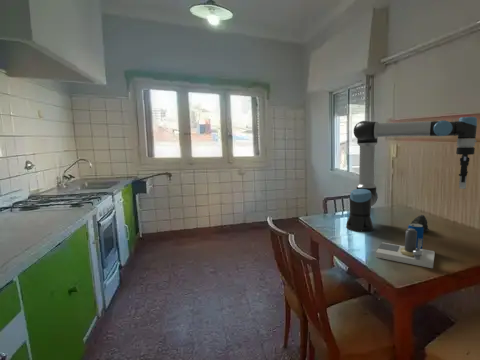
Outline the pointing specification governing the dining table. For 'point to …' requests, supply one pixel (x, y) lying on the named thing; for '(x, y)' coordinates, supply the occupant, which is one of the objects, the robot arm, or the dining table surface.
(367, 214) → the robot arm
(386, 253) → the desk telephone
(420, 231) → the beverage can
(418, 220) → the rock
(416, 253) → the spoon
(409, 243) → the grey post on base
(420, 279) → the dining table surface
